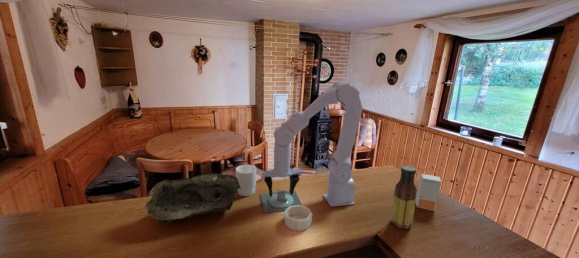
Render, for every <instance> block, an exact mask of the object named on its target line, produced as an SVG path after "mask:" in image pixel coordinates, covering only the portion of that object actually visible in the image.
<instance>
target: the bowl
mask: <svg viewBox="0 0 579 258" xmlns="http://www.w3.org/2000/svg"><path fill="white" fill-rule="evenodd" d="M283 212H284V213H283V215H284V216H283V220H284V225H285V226H286V228H287V229H289V230H290V231H294V232H304V231H306V230H308V229H310V227H311V224H312V223H313V213H312V211H311V209H310V207H308V206H304V205H303V204H302V205H293V206H289V207H288V208H287V209H286V210H285V211H283Z"/></svg>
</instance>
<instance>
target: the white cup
mask: <svg viewBox="0 0 579 258" xmlns="http://www.w3.org/2000/svg"><path fill="white" fill-rule="evenodd" d="M235 177H237V179H238V182H239V184H240V187H241V188H239V189H238V190H237V194H238V195H239V196H242V197H249V196H253V195H254V194H255V193H256V186H257V185H256V183H257V167H256V166H255V165H253V164H242V165H239V166H236V168H235Z"/></svg>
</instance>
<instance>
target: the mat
mask: <svg viewBox="0 0 579 258" xmlns="http://www.w3.org/2000/svg"><path fill="white" fill-rule="evenodd" d="M284 191H285V194H289V195H290V196H292V197H293V199H294V202H293V204H292V205H291V206H293V205H302V206H303V203H302V202H301V200H300V197H299V196H298V194H297V192H296V190H294V191H293V195H291V194H290V190H284ZM273 194H277V191H276V192H275V191H274V192H273V191H272V195H273ZM259 195H260V196H259V197H260V201H261V204H262V209H263V213H264V214H268V213H277V212H284V211H285V210H286V209H287V208H288V207H287V208H276V207H273V206H271V205H270V204H269V197H270V195H269V192H264V193H259Z"/></svg>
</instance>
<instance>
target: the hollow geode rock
mask: <svg viewBox="0 0 579 258" xmlns="http://www.w3.org/2000/svg"><path fill="white" fill-rule="evenodd" d="M239 188H241V187H240V184H239V182H238V179H237V177H236V175H235V176H234V175H232V174H221V173H218V172H205V173H201V174H197V175H195V176H192V177H187V178H178V179H174V180H171V179H163V180H160V182H157V184H156V185H155V186H154V187H153V192H152V196H151V198H150V200H149V201H148V202H146V204H145V207H144V208H145V209H146V210H147V215H150V216H151V217H152V218H153V219H156V220H159V221H163V222H165V224H166V225H168V224H170V223H173V222H174V221H176V220H180V219H181V220H183V219H184V218H185V219H186V218H192V217H194V216H200V215H207V214H208V215H210V214H215V213H222V212H225V211H226V212H227V211H230V210H231V208H232V206H233V203H235V201H236V200H238V197H237V193H236V192H238V189H239Z"/></svg>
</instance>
